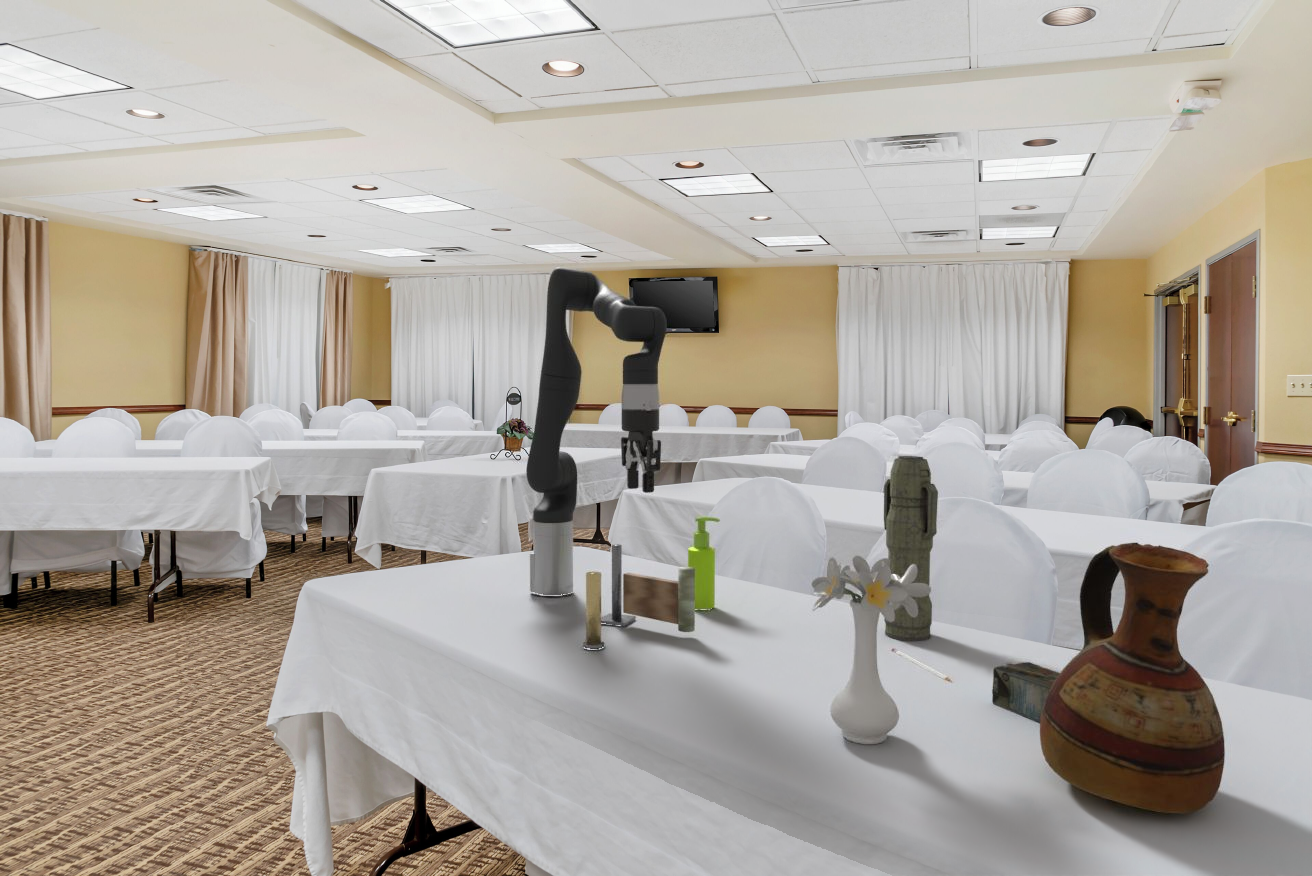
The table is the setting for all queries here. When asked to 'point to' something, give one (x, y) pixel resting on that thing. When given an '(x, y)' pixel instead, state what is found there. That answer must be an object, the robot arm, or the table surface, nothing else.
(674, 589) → the gate
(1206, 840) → the table surface
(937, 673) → the pencil
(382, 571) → the table surface
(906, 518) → the thermos
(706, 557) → the soap dispenser
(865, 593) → the flower vase
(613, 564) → the hinge post
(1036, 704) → the beverage carton
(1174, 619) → the ceramic pitcher
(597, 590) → the post
